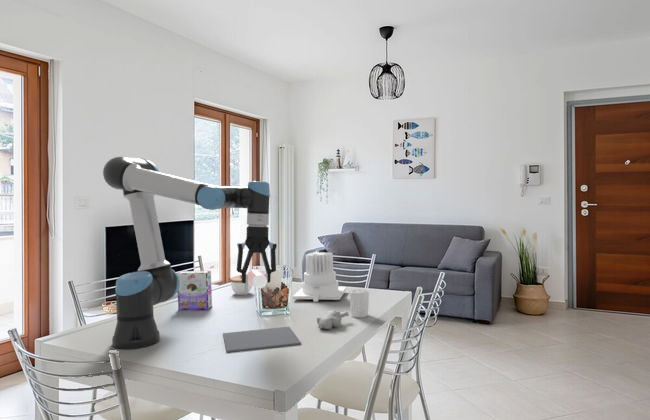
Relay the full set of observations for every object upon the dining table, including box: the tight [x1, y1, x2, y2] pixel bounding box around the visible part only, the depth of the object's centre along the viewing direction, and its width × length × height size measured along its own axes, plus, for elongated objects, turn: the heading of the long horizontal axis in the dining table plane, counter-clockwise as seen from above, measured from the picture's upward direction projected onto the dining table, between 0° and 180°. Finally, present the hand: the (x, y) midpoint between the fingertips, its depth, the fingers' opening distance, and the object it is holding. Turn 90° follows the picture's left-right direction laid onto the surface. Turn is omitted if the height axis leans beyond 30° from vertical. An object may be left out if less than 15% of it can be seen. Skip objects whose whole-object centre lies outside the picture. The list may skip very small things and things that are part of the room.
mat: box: [222, 326, 302, 354], centre depth 162 cm, size 20×24×1 cm
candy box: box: [176, 270, 213, 311], centre depth 209 cm, size 14×6×16 cm, turn 84°
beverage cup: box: [247, 268, 268, 289], centre depth 164 cm, size 6×6×14 cm
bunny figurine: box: [316, 309, 350, 330], centre depth 177 cm, size 10×5×15 cm
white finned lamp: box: [292, 251, 347, 303], centre depth 226 cm, size 25×22×21 cm
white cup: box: [349, 288, 370, 319], centre depth 190 cm, size 8×8×10 cm
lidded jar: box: [230, 274, 253, 296], centre depth 238 cm, size 11×11×9 cm
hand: (255, 292), depth 164 cm, fingers closed on beverage cup, 6 cm apart
